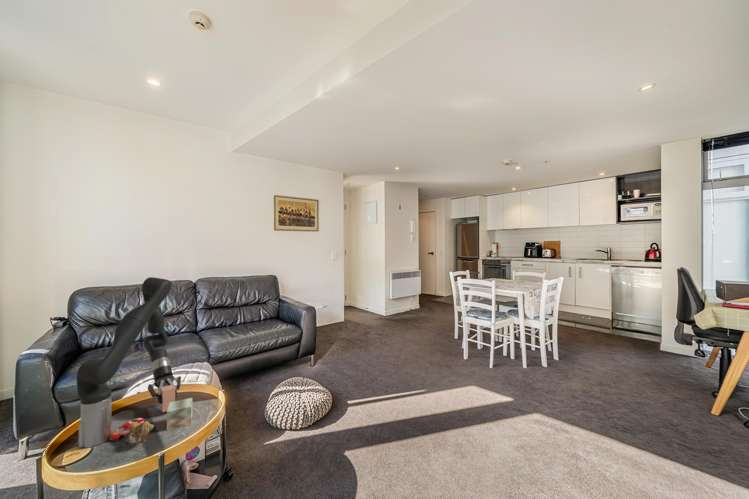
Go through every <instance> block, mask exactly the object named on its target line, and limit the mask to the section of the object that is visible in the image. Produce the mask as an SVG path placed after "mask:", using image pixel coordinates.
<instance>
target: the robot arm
mask: <svg viewBox="0 0 749 499" xmlns="http://www.w3.org/2000/svg"><path fill="white" fill-rule="evenodd" d="M172 287H173V284H172V281H171V280H169V279H166V278H159V277H153V276H152V277H150V276H149V277H147V278H146V279H144V281H143V283H142V285H141V292H142V297H143V301H144V303H142V304H141V305H139V306H137V307H135V308H132V309H131V310H130V311H129V312H127V313H126V314H125V315H124V316H123V317H122V318H121V320H120V322H119V323H118V324H117V325H116V327H115V330H114V334H113V344H112V346H111V348H110V349H109V351H108V353H107V354H106V356H105V357H104V358H103V359H102V358H101V359H100V358H94V359H93V358H91V359H88V360H85V361H84V362H83V363H81V364H80V366H79V367H78V369H77V372H76V387H77V388H76V389H77V391H76V392H77V396H78V397H79V400H80V421H79V423H78V448H79V449H80V448H92V447H96V446H98V445H102V444H103V443H105V442H107V441H108V440H109V437H110V435H111V434H112V433H113V432H112V389H111V388H110V387H109V386H108V385H107V384H106V383H108V382H109V381H111V379H112V378H113V377H114V376H115V375H116V373H117V371H118V370H119V368H120V366H121V364H122V362H123V361H124V359H125V357H126V355H127V353H128V352H129V350H130V348H131V347H132V345H133V344H134V342H135V341H136V339H137V338H138V336H139V335H140V334H141V333H142V331H143V329H144V328H145V327H146V324H147V332H148V333H149V334H152V335H148V336H146V337H145V338H144V339H143V342H142V344H143V347H144V349H145V350H146V352H147V353H148V354H149V357H150V360H151V369H152V374H153V375H152V376H153V379H154V382H153V383H151V384H148V385H147V390H148V392H149V395H150V396H151V397H152V398H156V399H157V403H158V404H159V405H160V404H162V403H163V400H162V395H161V388H162V387H164V386H168V385H173V386H174V387H175V400H176V399H177V398H178V396H179V395H178V391H179V390H180V388H181V384H182V382H181V381H182V376H181V375H180V376H178V377H177V376H176V377H175V376H174V374H173V370H172V366H171V362H170V360H169V359H170V358H169V355H168V352H167V349H166V348H163V347H166V346H167V344H168V343H169V338H168V335H167V332H166V329H165V315H164V313H163V310H162V309H161V307H160V305H161V304H162V303H163V301H165V299H166V298H167V297H168V295H169V294H170V292H171V290H172ZM174 382H175V383H176V386H175V383H174ZM155 387H156V388H158V390H157V392H156V390H155Z"/></svg>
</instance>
